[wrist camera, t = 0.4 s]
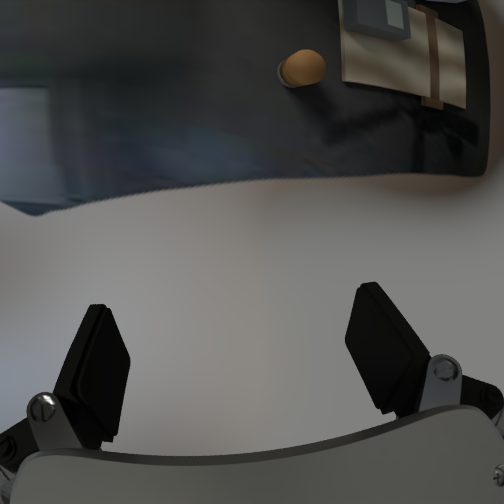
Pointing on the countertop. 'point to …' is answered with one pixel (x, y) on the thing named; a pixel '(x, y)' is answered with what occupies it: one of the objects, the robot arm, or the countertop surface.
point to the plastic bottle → (450, 0)
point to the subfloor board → (409, 59)
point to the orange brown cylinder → (301, 69)
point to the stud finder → (378, 18)
